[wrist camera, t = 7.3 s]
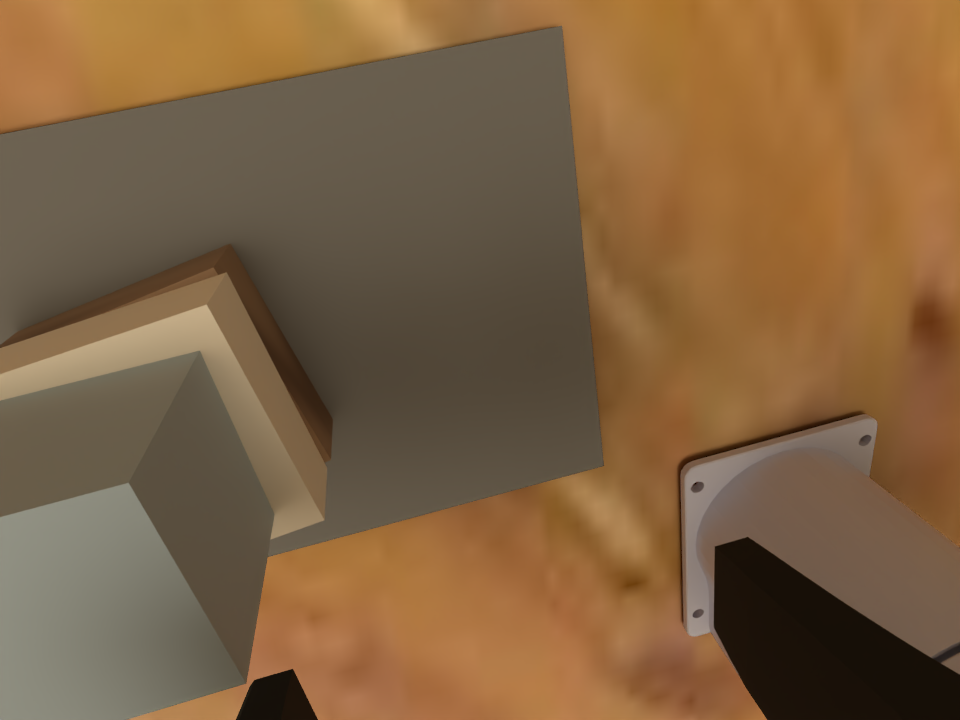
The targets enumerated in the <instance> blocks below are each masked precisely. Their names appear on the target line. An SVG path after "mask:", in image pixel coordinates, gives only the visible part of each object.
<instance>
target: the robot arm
mask: <svg viewBox="0 0 960 720" xmlns="http://www.w3.org/2000/svg"><path fill="white" fill-rule="evenodd" d="M877 426H878V425H877V421H876V420H875V419H874V418H872V417H871V416H869V415H867V414H862V415H858V416H854V417H851V418H847V419H843V420H840V421H836V422H833V423H829V424H825V425H822V426H818V427H814V428H811V429H807V430H803V431H800V432H796V433H792V434H789V435H785V436H781V437H778V438H774V439H771V440H767V441H763V442H760V443H756V444H752V445H749V446H745V447H741V448H738V449H734V450H730V451H727V452H723V453H719V454H716V455H712V456H709V457H705V458H701V459H698V460H694V461H691V462H689V463H687V464H686V465H685V466H684V467H683V469H682V470H681V475H680V477H681V524H682V570H683V617H684V628H685V630H686V632H687V633H688V634H689V635H690V636H700V635H703V634H706V633H709V632H711V633H712V635H713V637H714V638H715V640H716V641H717V643H718V644H719V646H720V647H721V649H722V650H723V652H724V654H725V655H726V657H727V658H728V660H729V661H730V663H731V664H732V666H733V667H734V669H735V671H736V672H737V674H738V675H739V677H740V678H741V680H742V681H743V683H744V685H745V687H746V688H747V690H748V691H749V693H750V694H751V696H752V697H753V699H754V700H755V702H756V703H757V705H758V706H759V708H760V709H761V711H762V712H763V714H764V715H765V717H766V718H767V720H960V548H959V547H958V546H957V545H956V544H954V543H953V542H952V541H950V540H949V539H948V538H947V537H945V536H944V535H943V534H941V533H940V532H939V531H938V530H936V529H935V528H934V527H932V526H931V525H930V524H928V523H927V522H926V521H925V520H923V519H922V518H921V517H919V516H918V515H917V514H916V513H914V512H913V511H912V510H910V509H909V508H908V507H907V506H905V505H904V504H903V503H901V502H900V501H899V500H898V499H896V498H895V497H894V496H892V495H891V494H890V493H889V492H887V491H886V490H885V489H883V488H882V487H881V486H880V485H878V484H877V483H876V482H874V481H873V480H872V479H870V478H869V476H870V470H871V463H872V457H873V451H874V445H875V439H876V433H877ZM696 482H698V483H697V484H696V485H694V486H692V485H693V484H694V483H696ZM236 720H318V719H317V717H316V715H315V713H314V711H313V709H312V707H311V705H310V703H309V701H308V699H307V697H306V695H305V693H304V691H303V689H302V687H301V685H300V682H299V680H298V678H297V676H296V674H295V672H294V670H293V669H291V670H288V671H284V672H281V673H277V674H274V675H270V676H267V677H263V678H260V679H257V680H254V682H253V683H252V684H251V686H250V687H249V690H248V692H247V695H246V697H245V700H244V702H243V704H242V707H241V709H240V712H239V714H238V716H237V719H236Z"/></svg>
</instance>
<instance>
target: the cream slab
mask: <svg viewBox="0 0 960 720" xmlns="http://www.w3.org/2000/svg"><path fill="white" fill-rule="evenodd" d="M196 351H200V352H201V354H202V357H203V359H204V361H205V363H206V365H207V368H208V370H209V372H210V374H211V376H212V379H213V381H214V383H215V385H216V387H217V389H218V392H219V394H220V396H221V398H222V400H223V403H224V405H225V407H226V409H227V411H228V414H229V416H230V418H231V420H232V422H233V425H234V427H235V429H236V431H237V433H238V435H239V438H240V440H241V442H242V444H243V446H244V449H245V451H246V453H247V455H248V457H249V460H250V462H251V464H252V466H253V468H254V471H255V473H256V475H257V477H258V479H259V481H260V484H261V486H262V488H263V490H264V492H265V495H266V497H267V499H268V501H269V503H270V506H271V508H272V510H273V512H274V514H275V515H274V521H273V527H272V533H271V539H274V538H276V537H279V536H282V535H285V534H288V533H290V532H293V531H296V530H299V529H302V528H304V527H307V526H310V525H313V524H315V523H318V522H321V521H324V519H325V501H326V483H327V467H326V465H325V463H324V461H323V459H322V457H321V455H320V453H319V451H318V449H317V447H316V445H315V443H314V441H313V439H312V437H311V435H310V434H309V432H308V430H307V428H306V426H305V424H304V422H303V420H302V418H301V416H300V414H299V412H298V410H297V408H296V406H295V404H294V402H293V400H292V398H291V397H290V395H289V393H288V391H287V389H286V387H285V385H284V383H283V381H282V379H281V377H280V375H279V373H278V371H277V369H276V367H275V365H274V363H273V361H272V360H271V358H270V356H269V354H268V352H267V350H266V348H265V346H264V344H263V342H262V340H261V338H260V336H259V334H258V332H257V330H256V328H255V326H254V324H253V323H252V321H251V319H250V317H249V315H248V313H247V311H246V309H245V307H244V305H243V303H242V301H241V299H240V297H239V295H238V293H237V291H236V289H235V287H234V286H233V284H232V282H231V280H230V278H229V276H228V274H227V272H226V273H223V274H220V275H217V276H214V277H211V278H208V279H205V280H202V281H199V282H196V283H193V284H190V285H187V286H184V287H181V288H178V289H175V290H172V291H169V292H166V293H163V294H160V295H157V296H154V297H151V298H148V299H145V300H142V301H139V302H136V303H133V304H130V305H127V306H124V307H121V308H118V309H116V310H113V311H110V312H107V313H104V314H101V315H98V316H95V317H92V318H89V319H86V320H83V321H80V322H77V323H74V324H71V325H68V326H65V327H62V328H59V329H56V330H53V331H50V332H47V333H44V334H41V335H38V336H35V337H32V338H29V339H26V340H23V341H20V342H17V343H14V344H11V345H8V346H5V347H2V348H0V401H1V400H5V399H9V398H13V397H17V396H21V395H25V394H29V393H33V392H37V391H41V390H44V389H48V388H52V387H56V386H60V385H64V384H68V383H72V382H76V381H80V380H84V379H88V378H92V377H96V376H100V375H104V374H108V373H112V372H116V371H120V370H124V369H128V368H132V367H136V366H140V365H144V364H148V363H152V362H156V361H160V360H164V359H168V358H172V357H176V356H180V355H184V354H188V353H192V352H196ZM271 539H270V540H271Z"/></svg>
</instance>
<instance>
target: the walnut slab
mask: <svg viewBox="0 0 960 720" xmlns="http://www.w3.org/2000/svg"><path fill="white" fill-rule="evenodd" d="M226 272H227V274H228V276H229V278H230V280H231V282H232V284H233V286H234V287H235V289H236V291H237V293H238V295H239V297H240V299H241V301H242V303H243V305H244V307H245V309H246V311H247V313H248V315H249V317H250V319H251V321H252V323H253V324H254V326H255V328H256V330H257V332H258V334H259V336H260V338H261V340H262V342H263V344H264V346H265V348H266V350H267V352H268V354H269V356H270V358H271V360H272V361H273V363H274V365H275V367H276V369H277V371H278V373H279V375H280V377H281V379H282V381H283V383H284V385H285V387H286V389H287V391H288V393H289V395H290V397H291V398H292V400H293V402H294V404H295V406H296V408H297V410H298V412H299V414H300V416H301V418H302V420H303V422H304V424H305V426H306V428H307V430H308V432H309V434H310V435H311V437H312V439H313V441H314V443H315V445H316V447H317V449H318V451H319V453H320V455H321V457H322V459H323V461H324V463H325V462H327V461H330V460H331V451H332V429H333V419H332V417H331V415H330V413H329V412H328V410H327V408H326V407H325V405H324V403H323V402H322V400H321V398H320V396H319V395H318V393H317V391H316V390H315V388H314V386H313V384H312V383H311V381H310V379H309V378H308V376H307V374H306V372H305V371H304V369H303V367H302V366H301V364H300V362H299V360H298V359H297V357H296V355H295V354H294V352H293V350H292V348H291V347H290V345H289V343H288V342H287V340H286V338H285V336H284V335H283V333H282V331H281V330H280V328H279V326H278V324H277V323H276V321H275V319H274V318H273V316H272V314H271V312H270V311H269V309H268V307H267V306H266V304H265V302H264V300H263V299H262V297H261V295H260V294H259V292H258V290H257V288H256V287H255V285H254V283H253V282H252V280H251V278H250V276H249V275H248V273H247V271H246V270H245V268H244V266H243V264H242V263H241V261H240V259H239V258H238V256H237V254H236V252H235V251H234V249H233V247H232V246H231V244H228V245H225V246H223V247H221V248H218V249H216V250H213V251H211V252H208V253H206V254H204V255H201V256H199V257H196V258H194V259H192V260H189V261H187V262H184V263H182V264H179V265H177V266H175V267H172V268H170V269H167V270H165V271H163V272H160V273H158V274H155V275H153V276H150V277H148V278H146V279H143V280H141V281H138V282H136V283H134V284H131V285H129V286H126V287H124V288H122V289H119V290H117V291H114V292H112V293H109V294H107V295H105V296H102V297H100V298H97V299H95V300H93V301H90V302H88V303H85V304H83V305H80V306H78V307H76V308H73V309H71V310H68V311H66V312H64V313H61V314H59V315H56V316H54V317H51V318H49V319H47V320H44V321H42V322H39V323H37V324H35V325H32V326H30V327H27V328H25V329H23V330H20V331H18V332H16V333H15V334H14V335H12V336H11V337H10V338H9V339H7V340H6V341H5V342H3V343H2V344H1V345H0V348H2V347H5V346H8V345H11V344H14V343H17V342H20V341H23V340H26V339H29V338H32V337H35V336H38V335H41V334H44V333H47V332H50V331H53V330H56V329H59V328H62V327H65V326H68V325H71V324H74V323H77V322H80V321H83V320H86V319H89V318H92V317H95V316H98V315H101V314H104V313H107V312H110V311H113V310H116V309H118V308H121V307H124V306H127V305H130V304H133V303H136V302H139V301H142V300H145V299H148V298H151V297H154V296H157V295H160V294H163V293H166V292H169V291H172V290H175V289H178V288H181V287H184V286H187V285H190V284H193V283H196V282H199V281H202V280H205V279H208V278H211V277H214V276H217V275H220V274H223V273H226Z"/></svg>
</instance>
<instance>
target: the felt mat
mask: <svg viewBox="0 0 960 720" xmlns="http://www.w3.org/2000/svg"><path fill="white" fill-rule="evenodd" d="M228 244H231V246H232V247H233V249H234V251H235V252H236V254H237V256H238V258H239V259H240V261H241V263H242V264H243V266H244V268H245V270H246V271H247V273H248V275H249V276H250V278H251V280H252V282H253V283H254V285H255V287H256V288H257V290H258V292H259V294H260V295H261V297H262V299H263V300H264V302H265V304H266V306H267V307H268V309H269V311H270V312H271V314H272V316H273V318H274V319H275V321H276V323H277V324H278V326H279V328H280V330H281V331H282V333H283V335H284V336H285V338H286V340H287V342H288V343H289V345H290V347H291V348H292V350H293V352H294V354H295V355H296V357H297V359H298V360H299V362H300V364H301V366H302V367H303V369H304V371H305V372H306V374H307V376H308V378H309V379H310V381H311V383H312V384H313V386H314V388H315V390H316V391H317V393H318V395H319V396H320V398H321V400H322V402H323V403H324V405H325V407H326V408H327V410H328V412H329V413H330V415H331V417H332V419H333V429H332V451H331V460H330V461H327V462H325V465H326V467H327V483H326V501H325V519H324V521H321V522H318V523H315V524H313V525H310V526H307V527H304V528H302V529H299V530H296V531H293V532H290V533H288V534H285V535H282V536H279V537H276V538H274V539H271V540H270V545H269V551H268V557H269V556H273V555H277V554H281V553H284V552H288V551H292V550H295V549H299V548H303V547H306V546H310V545H314V544H317V543H321V542H325V541H329V540H332V539H336V538H340V537H343V536H347V535H351V534H354V533H358V532H362V531H365V530H369V529H373V528H377V527H380V526H384V525H388V524H391V523H395V522H399V521H402V520H406V519H410V518H413V517H417V516H421V515H425V514H428V513H432V512H436V511H439V510H443V509H447V508H450V507H454V506H458V505H461V504H465V503H469V502H473V501H476V500H480V499H484V498H487V497H491V496H495V495H498V494H502V493H506V492H509V491H513V490H517V489H521V488H524V487H528V486H532V485H535V484H539V483H543V482H546V481H550V480H554V479H557V478H561V477H565V476H569V475H572V474H576V473H580V472H583V471H587V470H591V469H594V468H598V467H602V466H604V463H603V452H602V442H601V431H600V420H599V410H598V399H597V389H596V378H595V368H594V357H593V347H592V336H591V326H590V315H589V305H588V294H587V284H586V273H585V263H584V252H583V242H582V231H581V221H580V210H579V199H578V189H577V178H576V168H575V157H574V147H573V136H572V126H571V115H570V105H569V94H568V84H567V73H566V63H565V52H564V42H563V31H562V26H559V27H554V28H548V29H543V30H538V31H533V32H528V33H523V34H517V35H512V36H507V37H502V38H497V39H491V40H486V41H481V42H476V43H471V44H466V45H460V46H455V47H450V48H445V49H440V50H435V51H429V52H424V53H419V54H414V55H409V56H404V57H398V58H393V59H388V60H383V61H378V62H372V63H367V64H362V65H357V66H352V67H347V68H341V69H336V70H331V71H326V72H321V73H316V74H310V75H305V76H300V77H295V78H290V79H285V80H279V81H274V82H269V83H264V84H259V85H253V86H248V87H243V88H238V89H233V90H228V91H222V92H217V93H212V94H207V95H202V96H197V97H191V98H186V99H181V100H176V101H171V102H166V103H160V104H155V105H150V106H145V107H140V108H135V109H129V110H124V111H119V112H114V113H109V114H103V115H98V116H93V117H88V118H83V119H78V120H72V121H67V122H62V123H57V124H52V125H47V126H41V127H36V128H31V129H26V130H21V131H16V132H10V133H5V134H0V345H1V344H2V343H3V342H5V341H6V340H7V339H9V338H10V337H11V336H12V335H14V334H15V333H16V332H18V331H20V330H23V329H25V328H27V327H30V326H32V325H35V324H37V323H39V322H42V321H44V320H47V319H49V318H51V317H54V316H56V315H59V314H61V313H64V312H66V311H68V310H71V309H73V308H76V307H78V306H80V305H83V304H85V303H88V302H90V301H93V300H95V299H97V298H100V297H102V296H105V295H107V294H109V293H112V292H114V291H117V290H119V289H122V288H124V287H126V286H129V285H131V284H134V283H136V282H138V281H141V280H143V279H146V278H148V277H150V276H153V275H155V274H158V273H160V272H163V271H165V270H167V269H170V268H172V267H175V266H177V265H179V264H182V263H184V262H187V261H189V260H192V259H194V258H196V257H199V256H201V255H204V254H206V253H208V252H211V251H213V250H216V249H218V248H221V247H223V246H225V245H228Z"/></svg>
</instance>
